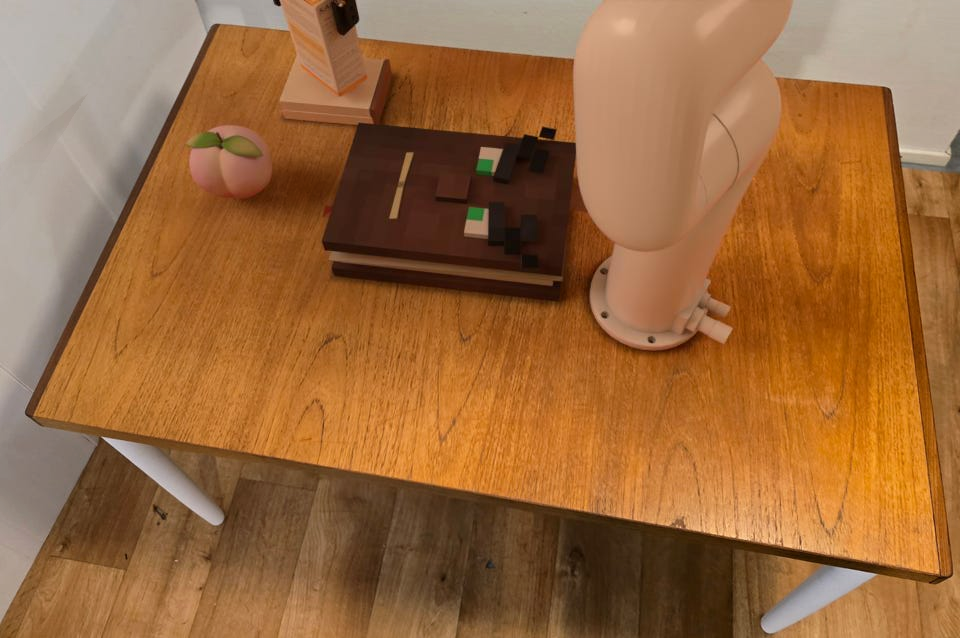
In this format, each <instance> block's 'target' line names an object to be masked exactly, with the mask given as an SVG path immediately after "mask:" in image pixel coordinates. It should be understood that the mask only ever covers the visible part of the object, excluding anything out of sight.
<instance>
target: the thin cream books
mask: <svg viewBox="0 0 960 638" xmlns="http://www.w3.org/2000/svg"><path fill="white" fill-rule="evenodd" d="M363 61H364V65H365V70H366V74H367V79H366V80H365V81H363V82H362V83H360V84H359V85H357V86H356V87H355V88H353V89H352V90H350V91H349V92H347V93H346V94H344V95H343V96H341V97H339V96H338V95H337V94H336V93H334V92H333V91H332V90H330V89H329V88H328V87H327V86H325V85H324V84H322V83H321V82H320V81H319V80H317V79H316V78H315V77H313V76H312V75H311V74H310V73H308V72H307V71H306V70H304V69H303V68H302V67H301V65H300V62H299V59H298V56H297V55H296V56H295V59H294V61H293V64H292V66H291V69H290V71H289V75H288V76H287V80H286V82H285V85H284V87H283V91H282V93H281V95H280V98H279V100H278V101H279V104H280V107H281V110H282V111H281V112H282V113H283V117H284V118H285V120H296V121H305V122H306V121H307V122H317V123H318V122H319V123H327V124H328V123H331V124H339V125H351V126H353V125H354V126H357V125H358V123H369V124H380V121H381V118H382V114H383V112H384V108H385V104H386V101H387V98H388V94H389V90H390V88H391V84H392V80H393V72H392V67H391V60H390V59H388V58H386V59H383V58H382V59H381V58H371V57H363Z"/></svg>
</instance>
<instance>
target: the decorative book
mask: <svg viewBox="0 0 960 638" xmlns="http://www.w3.org/2000/svg"><path fill="white" fill-rule="evenodd" d="M557 129H558V128H554V127H549V126H541V129H540V132H539V135H538V136H535V135H530V134H526V133H524V134H523V135H522V137H518V136H507V135H496V134H488V133H487V134H486V133H474V132H466V131H465V132H464V131H454V130H453V131H452V130H443V129H433V128H422V127H410V126H401V125H400V126H399V125H390V124H380V123H379V124H369V123H358V125H356V129H355V132H354V136H353V138H352V142H351V145H350V149H349V151H348V154H347V157H346V161H345V165H344V168H343V172H342V174H341V177H340V181H339V184H338V186H337V191H336V194H335V197H334V200H333V203H332V204H325V205H324V207H323V208H324V209H323V212H322V217H323V218H327V219H328V220H327V221H326V225H325V229H324V232H323V235H322V239H321V243H322V246H323V249H324V251H329V256H328V261H330V262H332V264H331V271H332V273H333V275H334V277H341V278H347V279H348V278H350V279H357V280H358V279H359V280H367V281H376V282H385V283H393V284H401V285H411V286H419V287H428V288H438V289H446V290H452V291H453V290H454V291H463V292H473V293H479V294H480V293H481V294H489V295H496V296H497V295H499V296H507V297H515V298H523V299H533V300H540V301H548V302H549V301H551V302H557V303H558V302H559V301H560V294H561V285H562V282H564V273H565V272H564V271H565V261H566V249H567V237H568V227H569V217H570V211H576V212H581V213H586V214H589V213H588V211H587V209H586V207H585V204H584V202H583V199H582V195H581V192H580V188H579V186H574V185H573V183H574V181H573V180H574V175H575V167H576V142H572V141H562V140H555V136H556V133H557ZM539 138H541V139H539ZM542 138H543V139H542Z"/></svg>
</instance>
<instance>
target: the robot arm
mask: <svg viewBox="0 0 960 638" xmlns="http://www.w3.org/2000/svg"><path fill="white" fill-rule="evenodd" d="M272 1H273V4H274V5H275V6H276V7H282V6H281V3H280V0H272ZM793 3H794V0H602V2H601V3H600V4H599V5H597V7H596V8H595V9H594V11H593V12H592V13H591V15H590V17H589V18H588V19H587V20H586V23H585V25H584V27H583V30H582V32H581V34H580V37H579V40H578V42H577V45H576V49H575V53H574V58H573V67H572V68H573V69H572V87H573V88H572V89H573V112H574V115H573V116H574V135H575V136H574V137H575V143H576V158H575V160H576V174H577V181H578V187H579V188H580V192H581V195H582V199H583V202H584V204H585V207H586V209H587V211H588V213H587V214H588V215H589V217H590V219H591V220H592V221H593V223H594V224H595V226H596V228H598V229H599V230H600V231H601V233H602V234H603V235H604V236H605V237H606V238H607V239H609V240H611V242H613V243H614V245H613V249H612V254H611V255H610V256H608V257H607V258H605V260H603V262H601V264H600V265H598V267H597V269H596V271H595V272H594V274H593V276H592V279H591V282H590V286H589V304H590V309H591V312H592V314H593V317H594V318H595V320H596V322H597V323H598V325H599V326H600V327H601V328H602V330H603V331H605V332H606V333H607V334H608V335H609V336H610V337H611V338H613V339H614V340H616V341H618V342H619V343H621V344H624V345H626V346H628V347H631V348H634V349H637V350H638V349H639V350H642V351H653V352H655V351H664V350H665V351H666V350H668V349H673V348H676V347H678V346H681V345H682V344H684V343H686V342H688V341H689V340H690V339H691V338H693V337H694V336H695V335H696V333H697V332H700V333H702V334H704V335H706V336H707V337H708V338H710V339H712V340H714V341H716V342H718V343H719V344H721V345H725V344H726V342H727V340H728V339H729V336H730V335H731V333H732V331H733V329H734V327H732V326H730V325H728V324H726V323H725V322H722V321H720V320H718V319H717V320H716V319H714V318H712V317H710V316H709V315H707V314H708V311H709V312H712V313H713V314H714V315H716V316H718V317H720V318H723V319H726V317H727V316H728V314H729V312H730V310H731V308H732V306H730V305H729V304H726V303H724V302H722V301H719V300H716V299H715V298H712V297H711V296H712V294H710V293H709V291H708V289H709V287H710V284H711V282H712V280H711V279H709V278H707V276H708V274H709V272H710V270H711V267H712V265H713V262H714V260H715V258H716V256H717V254H718V251H719V249H720V246H721V244H722V242H723V240H724V237H725V235H726V234H727V231H728V230H729V227H730V226H731V223H732V221H733V219H734V217H735V214H736V212H737V210H738V207H739V205H740V204H741V201H742V199H744V198H743V197H744V196H745V194H746V192H747V190H748V188H749V186H750V185H751V183H752V182H753V179H754V177H755V176H756V174H757V173H758V170H759V169H760V168H761V165H762V163H763V162H764V160H765V158H766V156H767V155H768V153H769V151H770V149H771V148H772V145H773V143H774V141H775V138H776V136H777V133H778V130H779V127H780V122H781V117H782V107H783V106H782V95H781V90H780V87H779V84H778V81H777V79H776V77H775V75H774V73H773V71H772V70H771V68H770V67H769V65H767V64H766V62H765V61H764V60H762V58H763V57H764V56H765V54H767V52H768V51H769V50H770V48H771V47H772V46H773V45H774V44H775V43H776V41H777V39H779V37H780V35H781V34H782V32H783V31H784V29H785V27H786V25H787V23H788V20H789V19H790V15H791V12H792V7H793V5H794V4H793ZM332 10H333V14H334V19H335V23H336V27H337V31H338V33H339V34H340V35H342V36H344V35H345V34H346V33H347V32H349V31H350V30H351V29H352V28H353V27H354V26H356V25H357V24H359V22H360V13H359V9H358V5H357V0H334V3H333V4H332Z"/></svg>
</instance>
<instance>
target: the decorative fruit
mask: <svg viewBox="0 0 960 638" xmlns="http://www.w3.org/2000/svg"><path fill="white" fill-rule="evenodd" d="M185 146H186V147H188V148H191V150H190V154H189V172H190V176H191V177H192V180H193V181H194V183H195V184H196V185H197V186H198V187H199V188H200V189H202V190H204V191H206V192H208V193H210V194H212V195H215V196H217V197H221V198H226V199H234V198H238V199H248V198H251V197H255V196H256V195H258V194H259V193H261V192H262V191H263V190H264V189H266V188H267V186H268V185H269V183H270V181H271V179H272V175H273V161H272V156H271V152H270V149H269V146H268V144H267V142H266V141H265V139H264V138H263V137H262V136H261V135H260V134H259V133H257V132H256V131H254V130H253V129H251V128H248V127H246V126H241V125H234V124H225V125H219V126H215V127H213V128H211V129H209V130H207V131H204V132H203V131H202V132H198V133H196V134H195V135H193V136H192V137H190V138H189V139H188V140H187V141H186V142H185Z"/></svg>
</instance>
